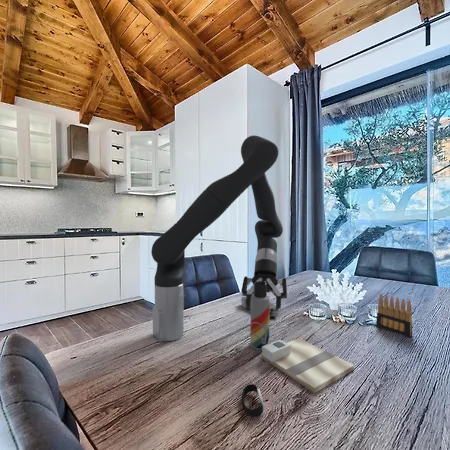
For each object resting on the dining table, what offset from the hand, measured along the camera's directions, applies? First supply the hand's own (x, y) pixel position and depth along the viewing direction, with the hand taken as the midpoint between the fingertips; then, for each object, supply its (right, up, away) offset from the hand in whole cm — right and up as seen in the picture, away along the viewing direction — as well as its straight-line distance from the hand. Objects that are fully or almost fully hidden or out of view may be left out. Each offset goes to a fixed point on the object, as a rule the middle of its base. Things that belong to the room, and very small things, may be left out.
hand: (262, 308), depth 82 cm
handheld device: (+3, -10, +29) cm, 31 cm away
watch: (-6, -13, -25) cm, 29 cm away
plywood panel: (+10, -12, -10) cm, 18 cm away
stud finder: (+3, -10, -8) cm, 13 cm away
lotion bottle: (-1, -11, 0) cm, 11 cm away
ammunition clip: (+46, -11, +10) cm, 49 cm away
